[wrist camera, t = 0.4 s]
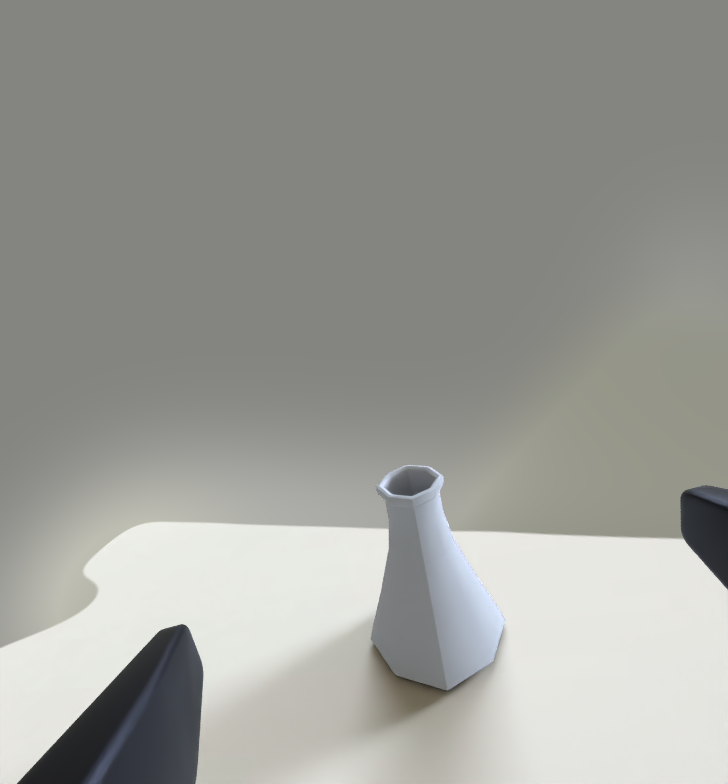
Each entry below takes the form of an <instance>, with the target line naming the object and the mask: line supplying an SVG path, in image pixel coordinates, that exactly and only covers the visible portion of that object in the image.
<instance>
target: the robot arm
mask: <svg viewBox="0 0 728 784" xmlns="http://www.w3.org/2000/svg"><path fill="white" fill-rule="evenodd" d="M681 531H682V535H683V537H684V539H685V541H686V543H687V544H688V545H689V546H690V548H691V549H692V550H693V551H694V552H695V553H696V554H697V555H698V557H699V558H700V559H701V560H702V561H703V562H704V563H705V565H706V566H707V567H708V568H709V569H710V570H711V571H712V572H713V574H714V575H715V576H716V577H717V578H718V579H719V580H720V581H721V583H722V584H723V585H724V586H725V587H726V588H727V589H728V489H723V488H718V487H713V486H707V485H706V486H700V487H696V488H692V489H689V490H686V491H684V492H683V493H682V495H681ZM202 689H203V666H202V662H201V659H200V656H199V654H198V651H197V648H196V646H195V643H194V640H193V638H192V635H191V633H190V630H189V629H188V627H187V626H186V625H183V624H181V625H177V626H173V627H170V628H166V629H163V630H161V631H159V632H158V633H157V634H156V635H155V636H154V637H153V638H152V639H151V641H150V642H149V643H148V644H147V645H146V646H145V647H144V648H143V649H142V650H141V651H140V652H139V653H138V654H137V656H136V657H135V658H134V659H133V660H132V661H131V662H130V663H129V664H128V665H127V666H126V667H125V668H124V669H123V671H122V672H121V673H120V674H119V675H118V676H117V677H116V678H115V679H114V680H113V681H112V682H111V683H110V684H109V686H108V687H107V688H106V689H105V690H104V691H103V692H102V693H101V694H100V695H99V696H98V697H97V698H96V699H95V701H94V702H93V703H92V704H91V705H90V706H89V707H88V708H87V709H86V710H85V711H84V712H83V713H82V714H81V716H80V717H79V718H78V719H77V720H76V721H75V722H74V723H73V724H72V725H71V726H70V727H69V728H68V729H67V731H66V732H65V733H64V734H63V735H62V736H61V737H60V738H59V739H58V740H57V741H56V742H55V743H54V745H53V746H52V747H51V748H50V749H49V750H48V751H47V752H46V753H45V754H44V755H43V756H42V757H41V758H40V760H39V761H38V762H37V763H36V764H35V765H34V766H33V767H32V768H31V769H30V770H29V771H28V772H27V773H26V774H25V776H24V777H23V778H22V779H21V780H20V781H19V782H18V783H17V784H195V783H196V776H197V765H198V751H199V736H200V720H201V705H202Z"/></svg>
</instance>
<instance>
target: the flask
mask: <svg viewBox="0 0 728 784" xmlns="http://www.w3.org/2000/svg"><path fill="white" fill-rule="evenodd" d="M443 481H444V478H443V475H441V474H440V473H438V472H437V471H435V470H434V469H432V468H431V467H429V466H414V465H406V466H403V467H401V468H399V469H396V470H394V471H392V472H390V473H387V474H386V475H385V476H384V477H383V479H382V480H381V481H380V483H379V484H378V485H377V486H376V489H377V492H378V494H379V495H380V496H381V497H382V498H383V499H384V500H385V502H386V507H387V512H388V518H389V551H388V557H387V562H386V567H385V573H384V578H383V584H382V589H381V594H380V598H379V603H378V607H377V611H376V616H375V620H374V625H373V630H372V635H371V640H372V641H373V643H374V644H375V646H376V647H377V649H378V650H379V652H380V653H381V655H382V656H383V658H384V659H385V661H386V662H387V664H388V665H389V667H390V668H391V670H392V671H393V673H394V674H395V675H397V676H400V677H403V678H407V679H410V680H413V681H417V682H420V683H423V684H427V685H430V686H433V687H437V688H440V689H443V690H447V691H448V690H450V689H451V688H453V687H454V686H456V685H458V684H459V683H461V682H462V681H464V680H465V679H467V678H468V677H470V676H471V675H473V674H475V673H476V672H478V671H479V670H481V669H482V668H484V667H485V666H487V665H489V664H490V663H492V662H493V661H494V658H495V654H496V651H497V647H498V644H499V640H500V637H501V633H502V629H503V626H504V622H505V618H504V616H503V614H502V613H501V611H500V610H499V608H498V606H497V605H496V604H495V602H494V601H493V599H492V598H491V596H490V595H489V593H488V592H487V590H486V589H485V587H484V586H483V584H482V583H481V581H480V580H479V578H478V577H477V575H476V574H475V572H474V571H473V569H472V567H471V566H470V564H469V562H468V561H467V559H466V558H465V556H464V554H463V553H462V551H461V549H460V548H459V546H458V545H457V543H456V541H455V540H454V538H453V535H452V533H451V530H450V528H449V525H448V523H447V520H446V518H445V515H444V512H443V509H442V504H441V499H440V492H439V491H440V488H441V487H442V485H443Z"/></svg>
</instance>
